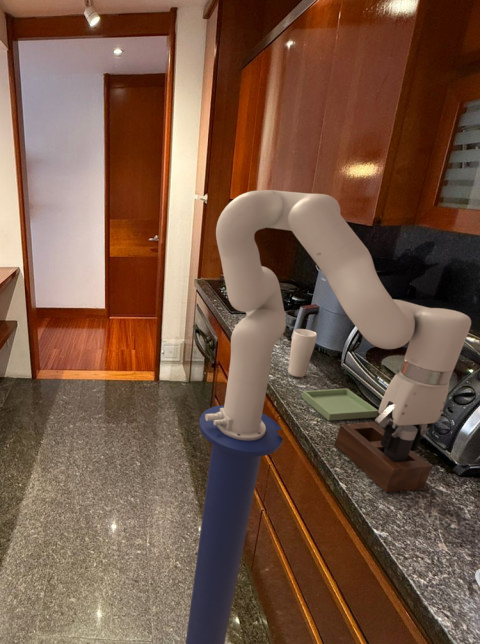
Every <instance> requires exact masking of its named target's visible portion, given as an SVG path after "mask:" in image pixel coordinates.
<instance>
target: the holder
mask: <svg viewBox="0 0 480 644" xmlns="http://www.w3.org/2000/svg"><path fill="white" fill-rule="evenodd" d="M384 432H385V430H384V429H383V428H382V426H380V425H379V424H378V423H376V422H375V421H371V422H357V423H346V424H345V423H344V424H340V425H339V429H338V432H337V436H336V439H335V443H334V446H335V447H336V448H337V449H338V450H339V451H340V452H342V453H343V454H344V455H345V456H346V457H347V458H348V459H349V460H350V461H351V462H353V464H355V466H357V467H358V468H359V469H360V470H361V471H362V472H364V474H365V475H366V476H367V477H369V479H371V480H372V481H373V482H374V483H375V484H376V485H377V486H378V487H379V488H380V489H382V490H383V492H384V493H391V492H392V493H393V492H403V491H412V490H414V491H415V490H424V488H425V486H426V484H427V481H428V478H429V477H430V473H431V471H432V470H433V465H432V464H430V463H429V462H428V461H426V460H425V459H424V458H422V457H421V456H420V455H419V454H417V453H416V452H415V451H411V450H410V452H409V455H408V457H407V460H406V461H405V462H393V461H392V460H391V459H390V458H389V457H387V456H386V455H385V454H384V450H385V448H384V447H383V446H382V445H381V441H382V438H383V435H384Z"/></svg>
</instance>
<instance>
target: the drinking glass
mask: <svg viewBox="0 0 480 644" xmlns="http://www.w3.org/2000/svg"><path fill="white" fill-rule="evenodd" d="M317 337H318V334H317V333H316V332H315V331H313V330H311V329H305V328H297V329H294V330H293V332H292V337H291V342H290V352H289V361H288V368H287V373H288V374H289V375H290V376H292V377H295V378H303V377H305V376H306V375H307V370H308V367H309V364H310V361H311V358H312V355H313V352H314V349H315V346H316V341H317Z"/></svg>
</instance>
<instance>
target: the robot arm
mask: <svg viewBox="0 0 480 644" xmlns="http://www.w3.org/2000/svg"><path fill="white" fill-rule="evenodd" d="M266 228H267V229H275V230H284V231H291V232H292V233H293V235H294V236H295V238H296V239H297V240H298V242H299V243H300V244H301V245H302V247H303V248H304V249H305V251H306V252H307V253H308V255H309V256H310V257H311V259H312V260H313V261H314V263H315V264H316V266H317V267H318V268H319V269H320V271H321V272H322V273H323V275H324V276H325V278H326V280H327V282H328V285H329V287H330V288H331V290H332V292H333V293H334V295H335V297H336V299H337V301H338V302H339V304H340V306H341V307H342V309H343V311H344V313H345V314H346V315H347V317H348V318H349V320H350V321H351V322H352V324H353V325H354V326H355V327H356V329H357V330H358V332H359V333H360V335H362V337H363V338H364V339H365V340H366V341H367V342H369V343H370V344H371V345H373V346H375V347H377V348H380V349H384V350H395V349H398V348H401V347H403V346H405V345H406V344H408V345H407V349H406V352H405V354H404V358H403V360H402V363H401V367H400V370H399V372H398V373H395V374H394V376H393V377H392V379H391V381H390V383H389V384H388V386H387V388H386V390H385V392H384V395H383V397H382V399H381V402H380V404H379V408H378V415H377V417H375V419H374V423H376V424H377V425H378V426H380V427H381V428H382V429H384V430H385V432H384V435H383V438H382V441H381V445H382V446H383V447H384V448H386V449H387V450H388V451H389V452H391V453H395V452H396V449H397V446H398V444H399V441H400V437H398V436H399V434H400V432H401V430H402V429H403V427H404V425H413V426H415V427H416V428H417V430H418V431H417V433H416V436H415V439H414V441H413V444H412V447H411V449H410V450H411V451H413V452H417V450H418V447H419V445H420V442H421V439H422V436H425V435H426V433H427V430H428V429H430V428H431V427H432V426H433V425H434V424H436V423H438V422H440V421H441V420H442V416H441V415H442V413H443V411H444V407H445V406H446V401H447V398H448V394H449V388H450V380H451V378H452V375H453V372H454V370H455V368H456V365H457V362H458V360H459V357H460V354H461V352H462V350H463V347H464V346H465V345H464V344H465V342H466V339H467V337H468V334H469V332H470V329H471V326H472V319H471V318H470V316H469V315H467V314H465V313H463V312H461V311H457V310H454V309H448V308H442V307H441V308H440V307H427V306H423V305H419V304H416V303H413V302H409V301H406V300H401V299H394V298H392V296H391V295H390V293H389V292H388V291H387V289H386V288H385V286H384V285H383V283H382V281H381V280H380V278H379V276H378V273H377V271H376V268H375V264H374V261H373V258H372V255H371V253H370V251H369V249H368V248H367V247H366V245H365V244H364V243H363V241H362V240H361V238H359V236H358V235H357V234H356V233H355V231H354V230H353V229H352V227H350V225H349V224H348V222H347V221H346V220H345V219H344V217H343V215H341V206H340V204H339V202H338V201H337V200H336V198H334V197H333V196H331V195H329V194H325V193H309V192H297V191H287V190H275V189H263V190H261V189H260V190H251V191H247V192H245V193H242V194H240V195H238V196H236V197H235V198H234V199H233V200H231V201H230V202H229V203H228V204H227V205H226V206H225V207H224V209H223V210H222V212H221V213H220V216H219V217H218V220H217V221H216V228H215V238H216V244H217V249H218V253H219V257H220V262H221V268H222V274H223V278H224V283H225V289H226V294H227V298H228V301H229V303H230V305H231V307H232V308H234V309H235V310H236V311H239V312H242V313H245V314H246V315H245V317H244V318H242V319H241V320H240V321H238V323H237V324H236V325H235V326H234V328H233V330H232V333H231V336H230V359H229V360H230V362H229V368H228V376H227V385H226V390H225V398H224V404H223V405H224V408H220V412H217V413H216V414H206V415H205V419H206V421H213V423H214V425H217V427H218V428H219V430H220V431H221V432H223V433H224V434H226V435H227V436H229V437H232V438H235V439H238V440H244V441H252V440H257V439H260V438H261V437H263V436H264V434H265V431H266V427H265V424H264V423H263V422H262V421H261V417H262V413H263V411H264V405H265V401H266V395H267V389H268V385H269V380H270V379H269V378H270V373H271V367H272V356H273V355H272V354H273V349H274V346H275V345H276V344H277V342H278V341H279V340H280V339H281V338H282V337H283V335H284V333H285V331H286V328H287V318H286V313H285V307H284V302H283V296H282V291H281V286H280V282H279V279H278V276H277V275H276V274H275V272H273V270H272V269H270V268H268V267H266V266H263V265H262V262H261V257H260V251H259V247H258V245H257V243H256V240H255V235H256V233H257V232H258V231H260V230H264V229H266ZM393 424H395V425H396V427H395V428H393V427H392V426H393Z"/></svg>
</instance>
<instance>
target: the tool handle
mask: <svg viewBox="0 0 480 644" xmlns="http://www.w3.org/2000/svg"><path fill="white" fill-rule="evenodd" d="M392 427H393V428H395V427H396V425H395V424H392ZM417 431H418V430H417V428H416V427H415V426H413V425H404V427H403V429H402V430H401V432H400V434H399V436H398V437H400V441H399V444H398V446H397V449H396V452H395V453H391V452H389V451H388V450H387V449H386V448H385V450H384V454H385V455H386V456H387V457H389V458H390V459H391V460H392V461H393V462H405V461H406V460H407V457H408V455H409V452H410V449H411V447H412V444H413V441H414V439H415V436H416V433H417Z"/></svg>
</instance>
